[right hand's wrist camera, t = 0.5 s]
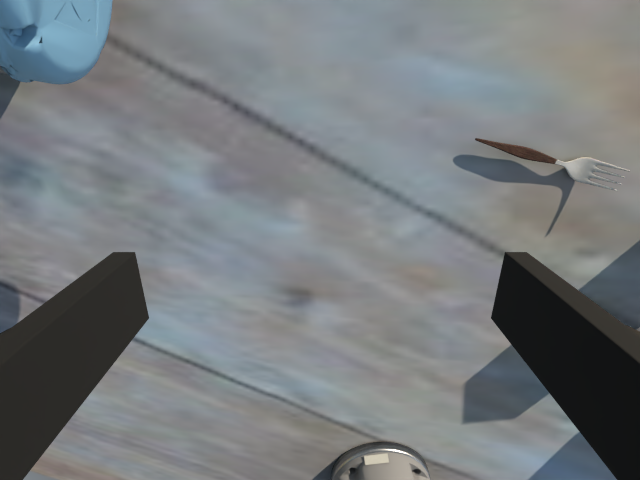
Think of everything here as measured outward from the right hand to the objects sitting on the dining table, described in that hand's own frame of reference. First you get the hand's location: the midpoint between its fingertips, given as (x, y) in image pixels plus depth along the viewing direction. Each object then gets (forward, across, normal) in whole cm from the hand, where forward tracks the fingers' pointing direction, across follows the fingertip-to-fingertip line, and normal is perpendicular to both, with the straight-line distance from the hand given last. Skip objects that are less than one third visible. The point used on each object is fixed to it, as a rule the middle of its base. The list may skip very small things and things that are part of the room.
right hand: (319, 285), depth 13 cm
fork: (+27, -24, 0) cm, 36 cm away
